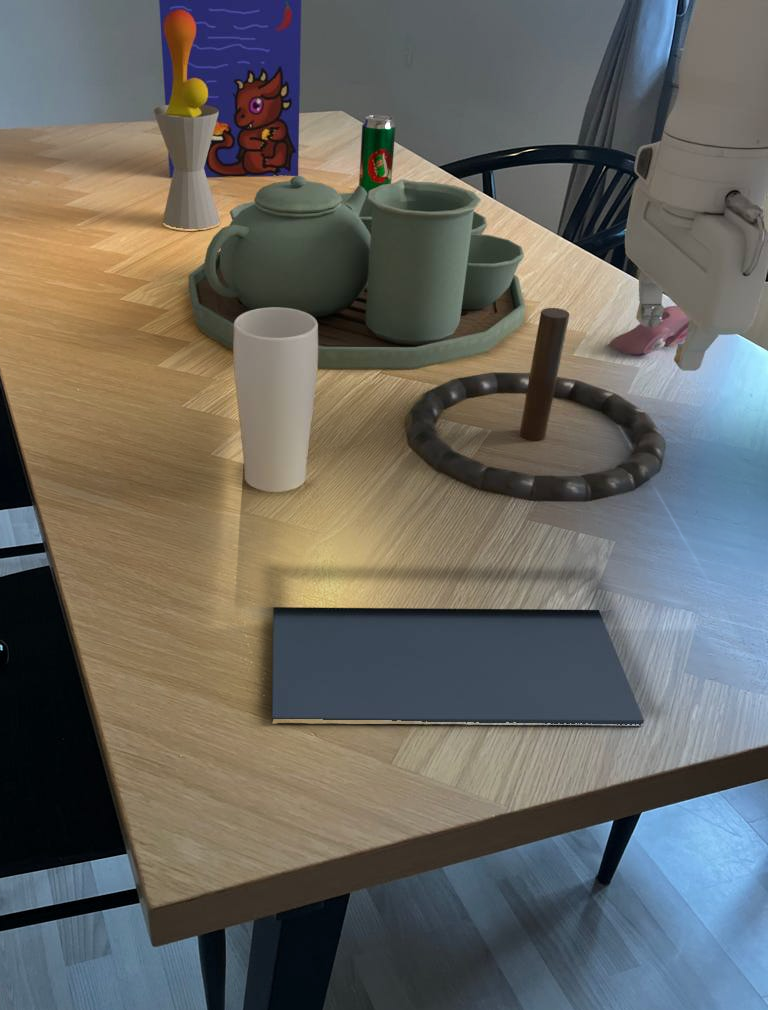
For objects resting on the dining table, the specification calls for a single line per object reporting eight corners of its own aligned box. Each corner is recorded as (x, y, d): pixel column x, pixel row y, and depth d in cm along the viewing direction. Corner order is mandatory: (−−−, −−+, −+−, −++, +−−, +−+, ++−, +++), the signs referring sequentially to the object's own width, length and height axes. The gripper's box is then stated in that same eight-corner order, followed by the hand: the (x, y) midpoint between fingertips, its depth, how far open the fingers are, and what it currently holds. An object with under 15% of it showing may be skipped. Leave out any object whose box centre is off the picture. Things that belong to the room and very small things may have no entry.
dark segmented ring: (620, 394, 101) (627, 369, 100) (694, 516, 83) (703, 487, 81) (394, 392, 101) (396, 366, 99) (418, 513, 83) (421, 485, 81)
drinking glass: (229, 505, 84) (224, 335, 74) (244, 467, 89) (241, 303, 79) (307, 513, 83) (312, 342, 73) (318, 473, 88) (324, 309, 78)
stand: (562, 429, 95) (590, 296, 87) (581, 469, 89) (613, 331, 81) (480, 428, 95) (500, 295, 87) (494, 469, 89) (517, 330, 81)
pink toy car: (625, 381, 108) (663, 335, 102) (600, 350, 109) (636, 303, 103) (681, 360, 112) (720, 315, 106) (656, 331, 113) (694, 285, 108)
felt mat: (586, 589, 75) (588, 583, 74) (642, 727, 63) (644, 720, 63) (273, 587, 75) (273, 580, 74) (271, 724, 63) (271, 717, 63)
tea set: (568, 297, 123) (596, 155, 113) (421, 416, 97) (440, 246, 87) (303, 239, 140) (306, 110, 129) (117, 327, 114) (102, 175, 103)
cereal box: (294, 166, 171) (297, -42, 152) (298, 175, 167) (301, -38, 148) (169, 168, 169) (156, -43, 150) (169, 177, 164) (156, -39, 145)
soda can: (365, 195, 157) (370, 112, 150) (394, 200, 156) (401, 116, 148) (352, 203, 154) (357, 119, 146) (382, 208, 152) (388, 122, 145)
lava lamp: (151, 228, 143) (129, -67, 121) (175, 211, 150) (159, -71, 128) (208, 234, 141) (197, -64, 119) (230, 217, 148) (224, -69, 125)
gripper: (813, 215, 69) (751, 396, 78) (701, 145, 85) (659, 302, 94) (726, 214, 69) (674, 397, 78) (630, 144, 85) (595, 302, 93)
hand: (665, 344), depth 86 cm, fingers open, 8 cm apart
